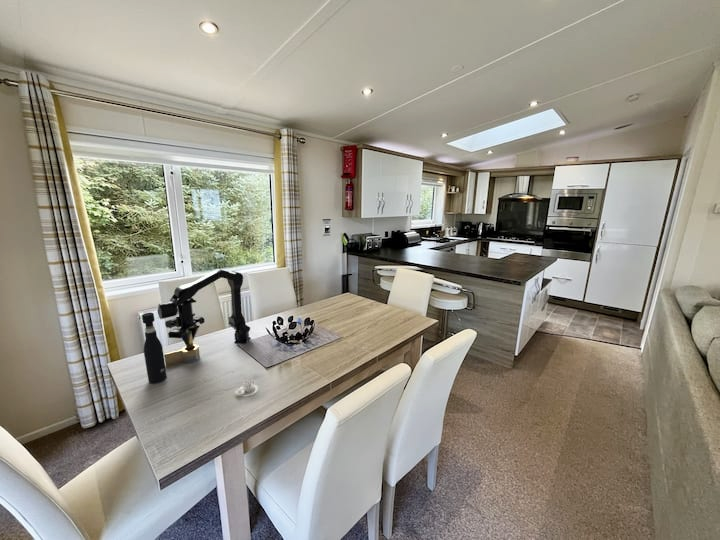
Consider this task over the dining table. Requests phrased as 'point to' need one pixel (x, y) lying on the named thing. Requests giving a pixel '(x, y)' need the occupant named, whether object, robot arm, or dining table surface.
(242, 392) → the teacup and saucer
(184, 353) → the hinge
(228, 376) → the dining table surface
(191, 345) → the hinge pin
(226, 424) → the dining table surface
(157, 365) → the black water bottle
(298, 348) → the dining table surface
